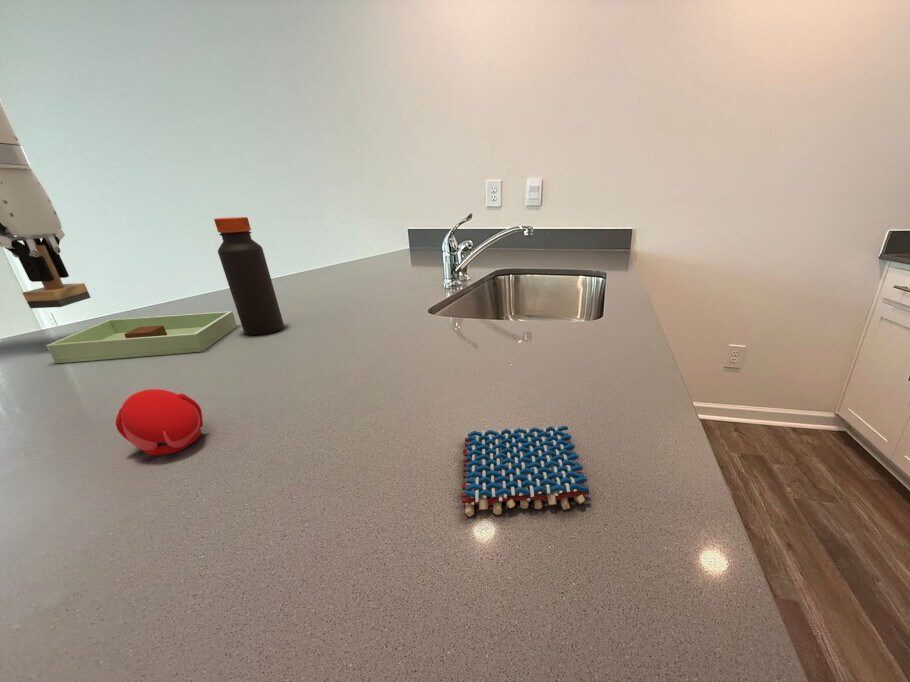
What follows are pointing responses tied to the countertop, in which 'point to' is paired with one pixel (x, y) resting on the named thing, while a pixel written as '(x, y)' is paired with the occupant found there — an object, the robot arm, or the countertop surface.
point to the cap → (159, 421)
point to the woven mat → (521, 469)
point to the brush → (54, 289)
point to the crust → (146, 332)
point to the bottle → (248, 277)
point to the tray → (112, 343)
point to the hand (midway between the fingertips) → (50, 278)
